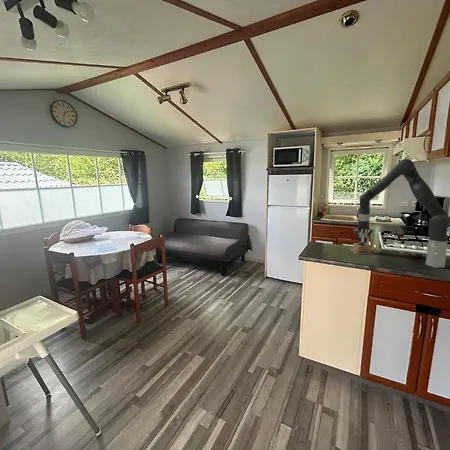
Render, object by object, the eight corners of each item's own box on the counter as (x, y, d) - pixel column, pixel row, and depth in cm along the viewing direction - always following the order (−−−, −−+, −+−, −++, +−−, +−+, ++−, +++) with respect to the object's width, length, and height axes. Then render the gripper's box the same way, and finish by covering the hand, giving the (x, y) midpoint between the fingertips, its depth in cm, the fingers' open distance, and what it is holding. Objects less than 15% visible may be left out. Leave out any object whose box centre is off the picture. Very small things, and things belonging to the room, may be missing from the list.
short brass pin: (378, 253, 192) (379, 245, 191) (374, 252, 193) (375, 245, 192) (377, 251, 195) (377, 244, 194) (372, 251, 196) (373, 244, 195)
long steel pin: (364, 247, 193) (365, 232, 191) (360, 247, 194) (361, 232, 191) (362, 246, 196) (364, 231, 194) (358, 246, 196) (360, 231, 194)
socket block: (372, 254, 189) (373, 246, 188) (356, 254, 190) (356, 246, 189) (366, 250, 200) (366, 242, 199) (350, 249, 202) (350, 242, 201)
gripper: (355, 220, 188) (354, 243, 191) (376, 220, 186) (373, 243, 189) (352, 219, 195) (350, 240, 199) (371, 219, 193) (369, 240, 197)
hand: (362, 241), depth 194 cm, fingers closed on long steel pin, 3 cm apart
